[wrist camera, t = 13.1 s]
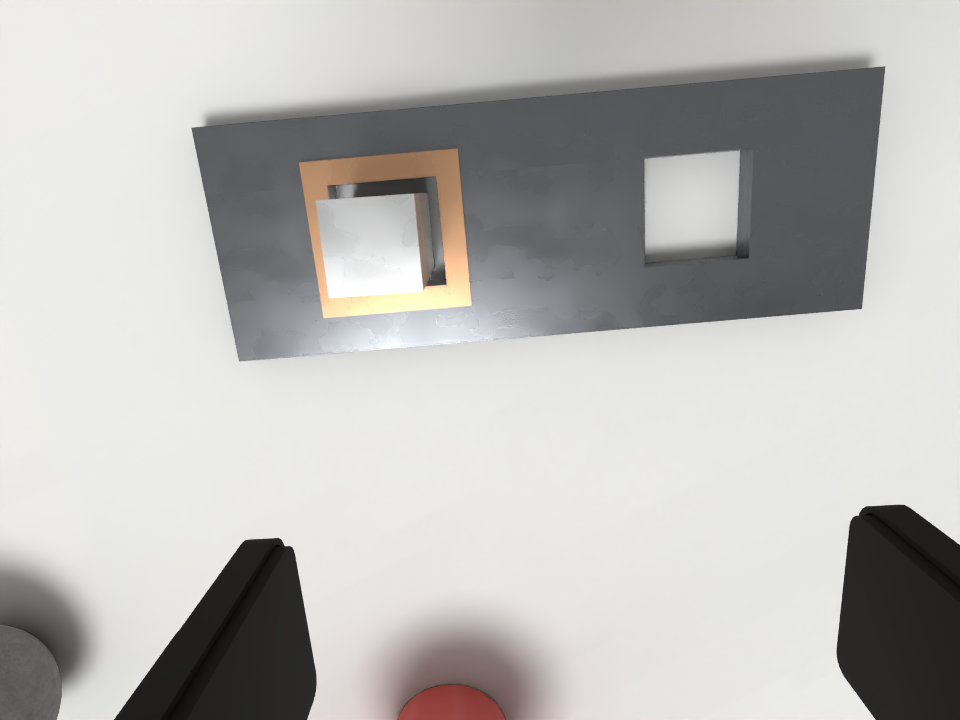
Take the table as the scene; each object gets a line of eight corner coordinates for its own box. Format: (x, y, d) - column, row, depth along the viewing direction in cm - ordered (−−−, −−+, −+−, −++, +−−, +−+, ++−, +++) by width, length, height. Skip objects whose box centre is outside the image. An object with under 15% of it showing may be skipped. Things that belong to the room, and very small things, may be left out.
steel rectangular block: (427, 192, 32) (414, 193, 24) (434, 267, 33) (423, 291, 25) (353, 197, 32) (315, 200, 24) (362, 272, 33) (328, 298, 25)
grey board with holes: (865, 72, 30) (889, 65, 29) (844, 303, 34) (865, 309, 32) (204, 130, 31) (188, 127, 29) (248, 354, 34) (237, 362, 32)
